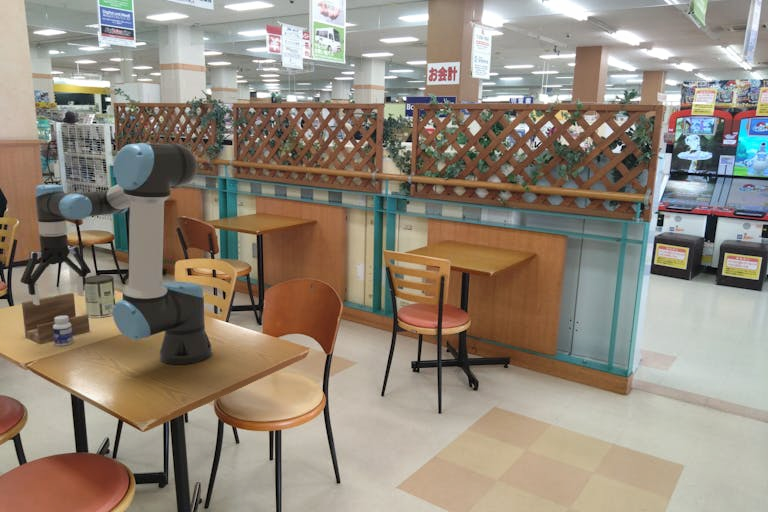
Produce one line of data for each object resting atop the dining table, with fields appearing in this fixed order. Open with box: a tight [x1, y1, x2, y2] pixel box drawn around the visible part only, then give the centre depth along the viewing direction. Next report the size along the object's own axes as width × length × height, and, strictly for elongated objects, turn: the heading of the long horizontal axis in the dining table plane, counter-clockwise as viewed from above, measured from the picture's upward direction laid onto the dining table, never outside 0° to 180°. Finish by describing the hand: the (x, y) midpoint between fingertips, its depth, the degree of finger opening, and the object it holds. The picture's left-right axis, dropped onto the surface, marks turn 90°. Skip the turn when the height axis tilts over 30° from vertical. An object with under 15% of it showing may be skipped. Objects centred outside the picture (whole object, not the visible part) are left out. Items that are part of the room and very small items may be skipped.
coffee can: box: [83, 274, 116, 319], centre depth 215 cm, size 10×10×14 cm
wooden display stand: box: [21, 292, 91, 345], centre depth 192 cm, size 11×16×12 cm, turn 144°
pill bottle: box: [53, 316, 74, 347], centre depth 184 cm, size 5×5×9 cm
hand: (59, 299), depth 182 cm, fingers open, 13 cm apart
